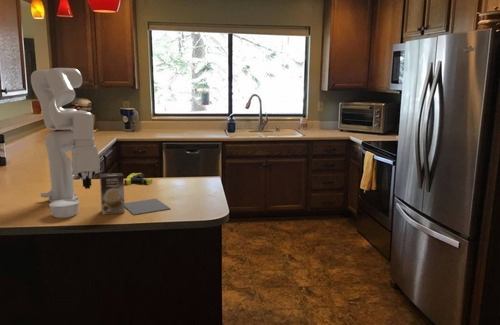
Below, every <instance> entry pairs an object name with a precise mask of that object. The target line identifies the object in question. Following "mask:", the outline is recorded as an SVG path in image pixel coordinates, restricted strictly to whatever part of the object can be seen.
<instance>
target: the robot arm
mask: <svg viewBox="0 0 500 325" xmlns="http://www.w3.org/2000/svg"><path fill="white" fill-rule="evenodd" d="M30 84H31V87H32V90H33V92H34V94H35V96H36V98H37V100H38V102H39V106H40V109H41V114H42V118H43V119H42V120H43V122H44V126H45V127H46V128H47V129H48V130H52V132H49V133H47V134H46V136H45V137H44V143H45V148H46V151H47V156H48V165H49V176H50V177H49V178H50V189H49V191H47V192H40V194H39V195H40V197H41V198H48V201H49V202H50V203H51V202H54V201H57V200H64V199H73V200H77V199H79V195H78V194H77V193H75V189H74V187H75V186H74V176H78V177H80V178H81V179H82V187H83V188H85V190H88V189H91V187H92V179H93V178H92V177H94V176H95V174H98V173H99V174H100V173H101V163H100V155H99V150H98V147H97V145H95V132H94V115H93V113H91V112H89V111H86V110H82V109H81V110H79V109H78V110H77V109H76V108H63V106H66V105H67V104H70V103H71V102H73V101H74V100H75V98H76V92H75V91H76V90H74V89H77V88H80V87H81V86H82V84H83V77H82V74H81V71H79V70H78V69H77V68H73V67H72V68H71V67H54V68H49V69H36V70H34V71H33V72H32V73H31V75H30ZM57 130H58V131H57ZM59 130H60V131H59ZM69 152H71V158H70V156H68V155H67V153H69ZM86 173H87V176H86Z"/></svg>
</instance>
